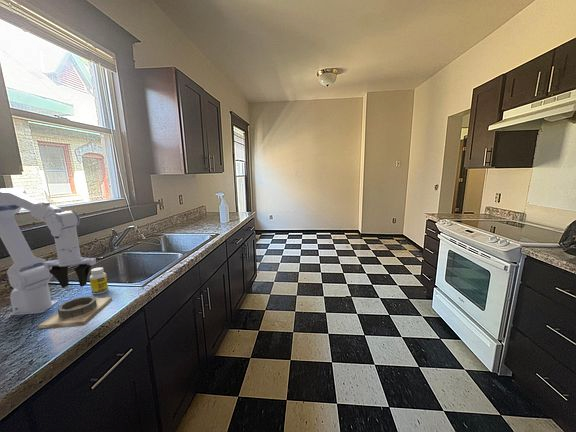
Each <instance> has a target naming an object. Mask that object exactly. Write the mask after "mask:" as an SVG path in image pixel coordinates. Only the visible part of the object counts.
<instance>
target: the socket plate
mask: <svg viewBox="0 0 576 432" xmlns="http://www.w3.org/2000/svg"><path fill="white" fill-rule="evenodd" d="M112 300H113V297H112V296H110V297H109V296H108V297H107V296H106V297H96V296H93V295H86V296H85V295H84V296H80V297H75V298H73V299H69V300H67V301H64V302H63V303H62V304H60V305H58V307H57V311H56V312H54V313H53V314H51V315H50V317H48V318H46V319H45V320H44V321H42V322H41V323H39V324H38V325H37V327H38V329H46V328H55V327H57V328H58V327H69V326H70V327H71V326H80V325H81V326H82V325H85V324H87V323H88V322H89V321H90V320H91V319H92V318H93V317H94V316H96V315H97V314H98V313H99V312H100V311H101V310H102V309H103V308H104V307H106V306H107V304H109V303H110V302H111V301H112Z"/></svg>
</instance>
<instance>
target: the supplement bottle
mask: <svg viewBox="0 0 576 432" xmlns="http://www.w3.org/2000/svg"><path fill="white" fill-rule="evenodd" d="M90 273H91V275H90V276H89V282H90V283H89V285H90V290H91V294H92V295H101V294H104V293H107V292H108V290H109V286H108V277H107V276H108V275H107V273H106V272H105V271H104V267H95V268H94V267H93V268H91V269H90Z"/></svg>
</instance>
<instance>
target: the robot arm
mask: <svg viewBox="0 0 576 432" xmlns="http://www.w3.org/2000/svg"><path fill="white" fill-rule="evenodd" d="M21 209H24V210H27V211H30V215H31V216H32V217H34V218H35V219H38V220H40V221H41V222H43V223H45V224H46V226H47V228H48V229H49V230H50V234H51V236H52V237H53V239H54V243H55V250H56V256H57V259H54V260H53V259H52V260H47V261H46V259H45V258H41V257H38V256H35V255H34V253H33V251H32V249H31V247H30V246H29V244H28V241H27V240H26V238H25V236H24V234H23V232H22V230H21V229H20V227H19V224H18V223H17V220H16V219H15V215H16V214H18V213H20V211H21ZM80 219H81V218H80V216H79V214H78V212H75V211H74V210H71V209H70V210H64V209H62V208H61V207H57V206H55V205H53V204H52V203H51V202H50V201H37V199H34V198H32V197H30V195H28V194H27V192H26V190H25V189H22V188H21V187H16V186H15V187H8V188H6V187H4V188H0V239H1V241H2V243H3V245H4V247H5V249H6V251H7V252H8V254H9V256H10V258H11V260H12V262H13V264H12V265H11V266H10V267H9V268H8V269H7V271H6V274H7V277H8V283H9V285H10V286H11V287H12V288H13V289H12V291H11V292H10V295H9V299H10V300H9V301H10V304H11V309H12V313H10V316H20V315H31V314H33V315H34V314H41V313H44V312H45V311H47V310H49V309H50V308H51V307H53V306H55V305H56V304H58V302H59V300H52V298H51V292H50V286H49V283H50V282H51V279H52V277H54V278H55V279H56V280H57V282H58V283H59V285H60V286H61V288H62V289H64V288H67V287H68V286H69V284H70V283H69V282H70V281H69V274H68V273H69V272H68V271H69V267H75V266H77V267H75V268H74V272H75V273H76V276H77V279H78V282H79V283H78V284H79V286H80V287H84V286H86V285H87V283H88V282H87V281H88V277H89V273H90V271H91V269H92V266H95V265H96V264H97V258H96V257H82V255H81V249H80V243H79V237H78V231H77V227H78V226H79V225H80V223H81V220H80Z"/></svg>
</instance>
